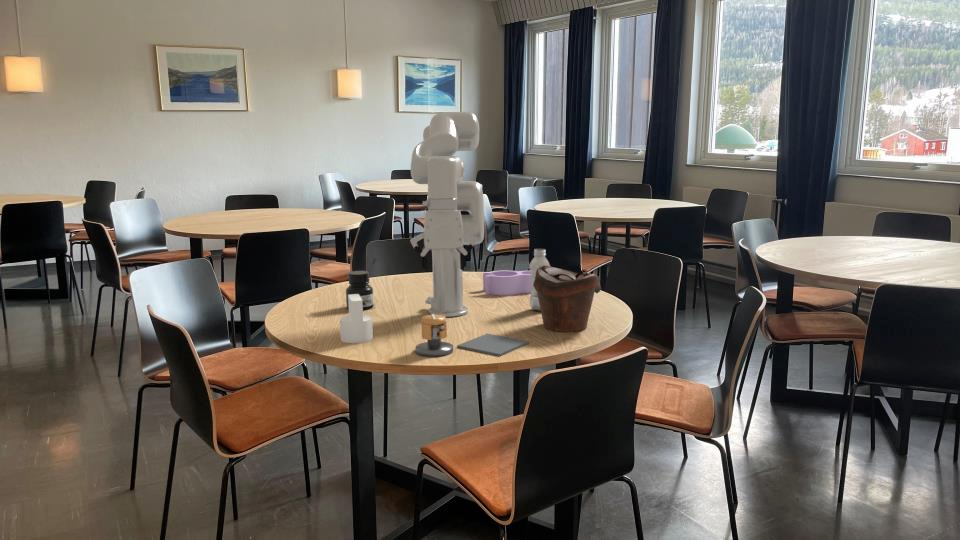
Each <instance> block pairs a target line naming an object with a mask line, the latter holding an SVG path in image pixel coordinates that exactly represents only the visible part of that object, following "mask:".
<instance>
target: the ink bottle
mask: <svg viewBox="0 0 960 540" xmlns="http://www.w3.org/2000/svg"><path fill="white" fill-rule="evenodd" d="M347 275H348V276H347V278H348V284H349V285H348V287H346V289H345V298H346V299H345V300H346V301H345V302H346V303H345V304H346V309H348V310H349V304H348V295H350V294H359V295H360V297H361V299H362V304H363V311H365V310H369V309H372V308H373V307H374V289H373V287H372V286H371V285H370V272H369V271H366V270H354V271H349V272H348V274H347Z"/></svg>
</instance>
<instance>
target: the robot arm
mask: <svg viewBox="0 0 960 540" xmlns="http://www.w3.org/2000/svg"><path fill="white" fill-rule="evenodd" d="M422 135H423V136H422V138H423V139H422V141H420V142H419V143H418V144H416V146H415V147H414V148H413V150H412V154H411V161H410V176H411V178H412V181H413V182H414V183H416V184H417V185H427V199H426V200H425V201H424V200H423V201H422V207H425V208H427V209H428V210H425V214H424V223H423V232H421V233H420V234H418V235H416V236H415V237H412V238H411V239H410V241H409V242H410V244H411V246H412V248H413V249H414V251H415V252H416V253H417V254H419V255H420V257H421V260H420V261H421V269H423V270H424V272H428V255H427V254H428V252H429V251H431V256H432V257H431V260H432V289H433V290H432V293H433V295H432V296H433V297H432V296H428V297H427V298H426V299H425V304H428V305H430V308H429V309H428V314H429V315H432V314H434V315H443V316H445V317H446V318H447V317H448V318H450V317H451V318H453V317H458V316H459V317H461V316H464V315H466V314H467V313H468V312H469V310H468V307H467V306H464V294H463V293H464V292H463V291H464V290H463V289H464V288H463V287H464V285H463V283H464V282H463V271H465V268H466V267H467V255H468V253H470V251H472V250H473V247H474V246H475V245H479V244H482V243H483V240H484V238H485V216H484V215H485V211H484V209H485V207H484V206H485V205H484V202H485V201H484V193H483V188H482V187H483V186H482V185H481V184H480V182H477V181H476V180H475V181H474V180H462V179H463V178H464V176H465V164H464V162H463V161H462V159H461V158H460V157H458V156H455V154H456V153H457V152H472V151H475V150H476V149H477V148H478V147H479V142H480V122H479V120H478V118H477V115H476V114H475V113H473V112H471V111H442V112H438V113H436V114H434V115H433V116H432V117H431V119H430V122H429V125H427V126H425V128H424V129H423V133H422ZM461 212H468V213H469V214H462V213H461ZM422 239H423V245H424V246H423V248H421V247H420V246H419V245H418V242H419V241H421V240H422ZM464 246H465V248H464ZM457 249H458V250H457ZM459 251H460V252H459Z"/></svg>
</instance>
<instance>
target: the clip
mask: <svg viewBox="0 0 960 540" xmlns="http://www.w3.org/2000/svg"><path fill="white" fill-rule="evenodd" d="M531 283H532V282H531V274H530V270H493V271H489V272H487V271H483V272H482V286H483V287H482V288H483V289H482V290H483V292H485V295H489V296H490V295H494V296H513V295H514V296H515V295H519V294H531Z"/></svg>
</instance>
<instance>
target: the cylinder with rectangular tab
mask: <svg viewBox="0 0 960 540" xmlns="http://www.w3.org/2000/svg"><path fill="white" fill-rule="evenodd" d="M348 304H349V309H348V315H344V316H341V317H340V318H339V330H340V331H339V332H340V341H341V342H342V343H347V344H362V343H367V342H370V341H372V340H373V339H374V335H373V334H374V333H373V332H374V331H373V317H372V316H371V315H369V314H364V310H363V304H362V299H361V297H360V295H359V294H350V295H348Z"/></svg>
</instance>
